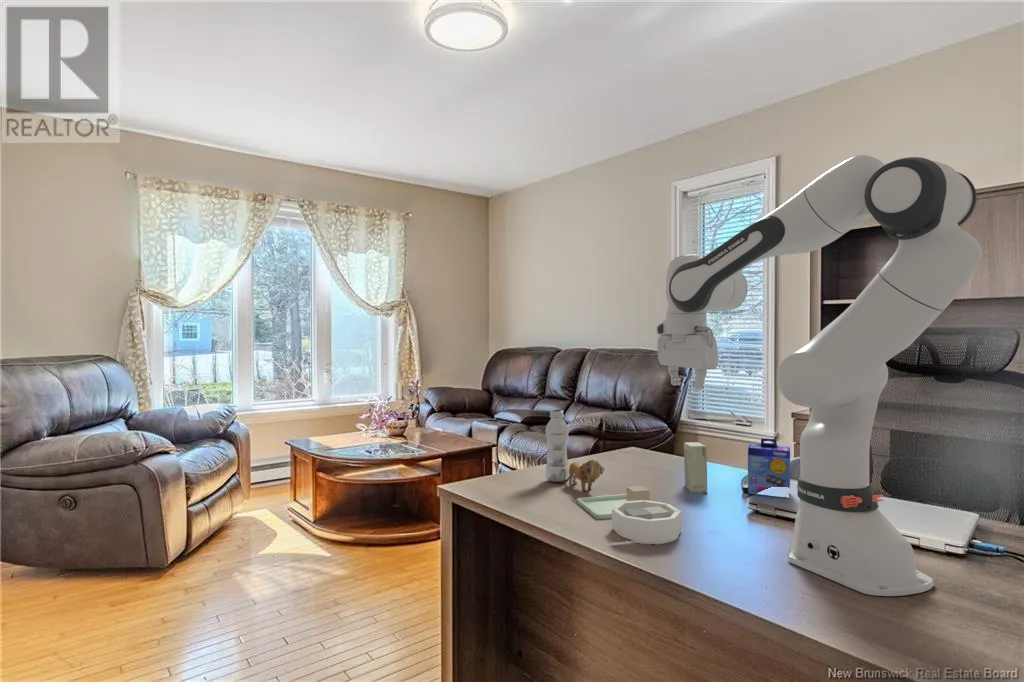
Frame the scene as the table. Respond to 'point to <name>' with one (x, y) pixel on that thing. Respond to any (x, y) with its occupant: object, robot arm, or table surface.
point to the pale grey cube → (657, 512)
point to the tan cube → (637, 493)
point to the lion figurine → (585, 473)
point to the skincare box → (695, 466)
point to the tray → (601, 504)
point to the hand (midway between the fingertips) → (686, 387)
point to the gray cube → (637, 513)
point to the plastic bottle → (557, 447)
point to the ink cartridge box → (768, 466)
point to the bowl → (646, 523)
